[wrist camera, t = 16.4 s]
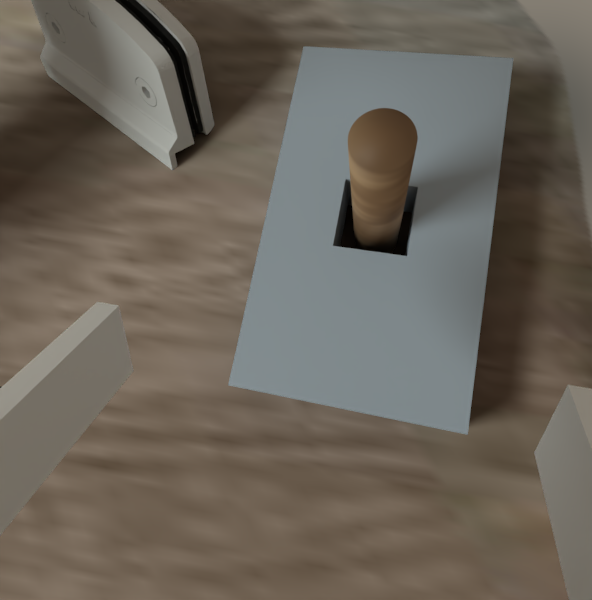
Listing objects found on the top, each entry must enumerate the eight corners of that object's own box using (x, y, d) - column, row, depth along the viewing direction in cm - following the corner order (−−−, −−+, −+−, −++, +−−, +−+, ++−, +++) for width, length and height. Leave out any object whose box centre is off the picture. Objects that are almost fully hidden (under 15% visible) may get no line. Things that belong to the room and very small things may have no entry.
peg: (351, 256, 32) (342, 166, 20) (358, 217, 33) (354, 105, 20) (393, 262, 32) (412, 174, 19) (400, 222, 32) (422, 110, 20)
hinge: (45, 73, 40) (-15, -57, 31) (89, 50, 42) (44, -79, 33) (176, 173, 36) (149, 54, 27) (218, 142, 38) (206, 22, 29)
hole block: (454, 430, 29) (467, 434, 25) (245, 387, 31) (228, 385, 28) (496, 98, 33) (513, 58, 29) (310, 84, 36) (303, 46, 32)
